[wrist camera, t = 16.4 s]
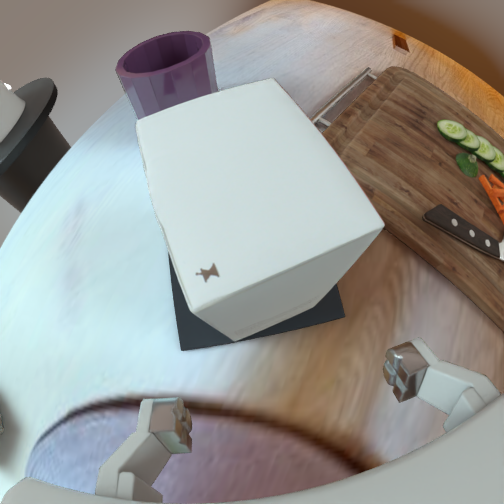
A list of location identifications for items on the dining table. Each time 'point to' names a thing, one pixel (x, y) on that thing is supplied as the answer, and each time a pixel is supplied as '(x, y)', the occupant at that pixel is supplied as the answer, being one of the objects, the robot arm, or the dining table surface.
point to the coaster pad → (204, 335)
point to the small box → (252, 205)
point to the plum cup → (167, 71)
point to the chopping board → (429, 177)
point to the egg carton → (0, 426)
